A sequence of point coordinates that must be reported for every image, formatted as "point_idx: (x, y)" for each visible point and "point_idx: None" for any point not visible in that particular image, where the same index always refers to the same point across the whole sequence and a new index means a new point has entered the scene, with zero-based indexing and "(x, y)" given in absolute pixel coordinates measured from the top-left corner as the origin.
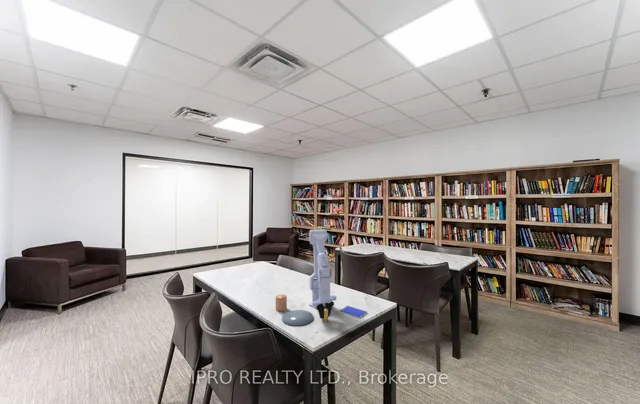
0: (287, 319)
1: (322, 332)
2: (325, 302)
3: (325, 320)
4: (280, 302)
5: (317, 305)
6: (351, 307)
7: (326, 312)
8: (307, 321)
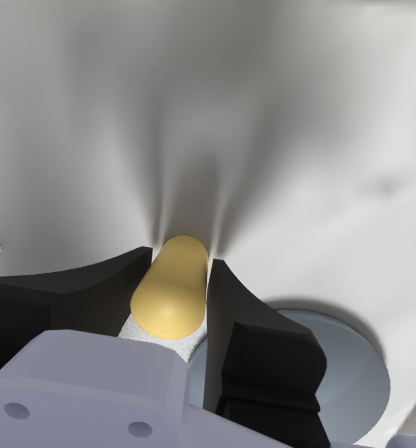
0: (351, 418)
1: (368, 144)
2: (231, 438)
3: (198, 243)
4: None
5: (340, 445)
6: None
7: (181, 271)
8: (309, 323)
